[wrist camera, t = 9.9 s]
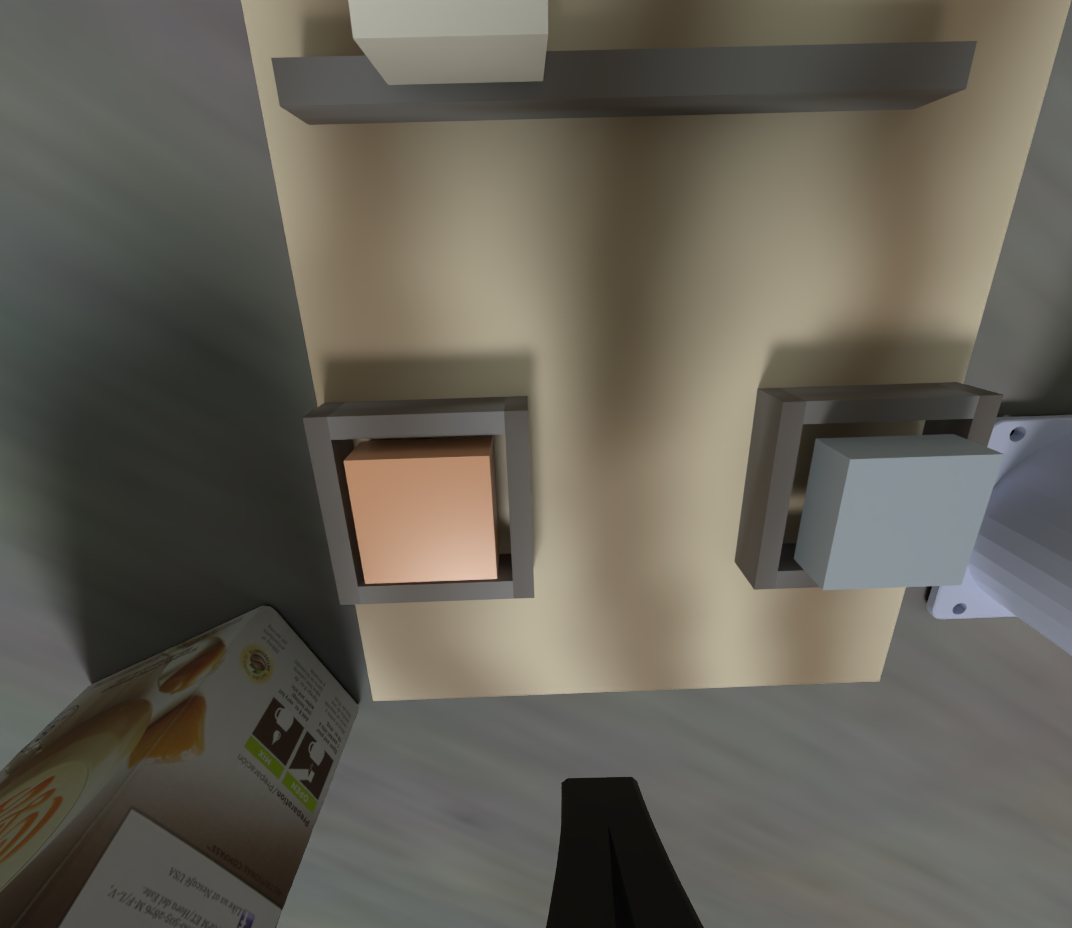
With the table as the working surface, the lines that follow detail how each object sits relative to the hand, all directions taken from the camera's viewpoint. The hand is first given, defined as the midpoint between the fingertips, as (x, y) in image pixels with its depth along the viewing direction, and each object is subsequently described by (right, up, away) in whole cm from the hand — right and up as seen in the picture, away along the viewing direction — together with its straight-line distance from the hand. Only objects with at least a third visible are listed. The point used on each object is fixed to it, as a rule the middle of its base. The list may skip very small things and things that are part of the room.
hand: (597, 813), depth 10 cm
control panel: (+2, +11, +6) cm, 13 cm away
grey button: (+8, +6, +4) cm, 11 cm away
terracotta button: (-4, +6, +5) cm, 9 cm away
